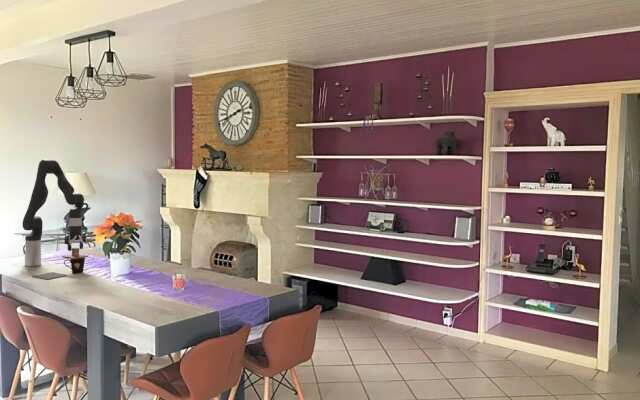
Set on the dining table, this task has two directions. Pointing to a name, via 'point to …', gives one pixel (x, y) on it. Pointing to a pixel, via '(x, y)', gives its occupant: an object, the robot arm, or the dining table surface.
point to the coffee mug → (76, 265)
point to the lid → (75, 254)
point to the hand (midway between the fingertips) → (75, 249)
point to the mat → (49, 275)
